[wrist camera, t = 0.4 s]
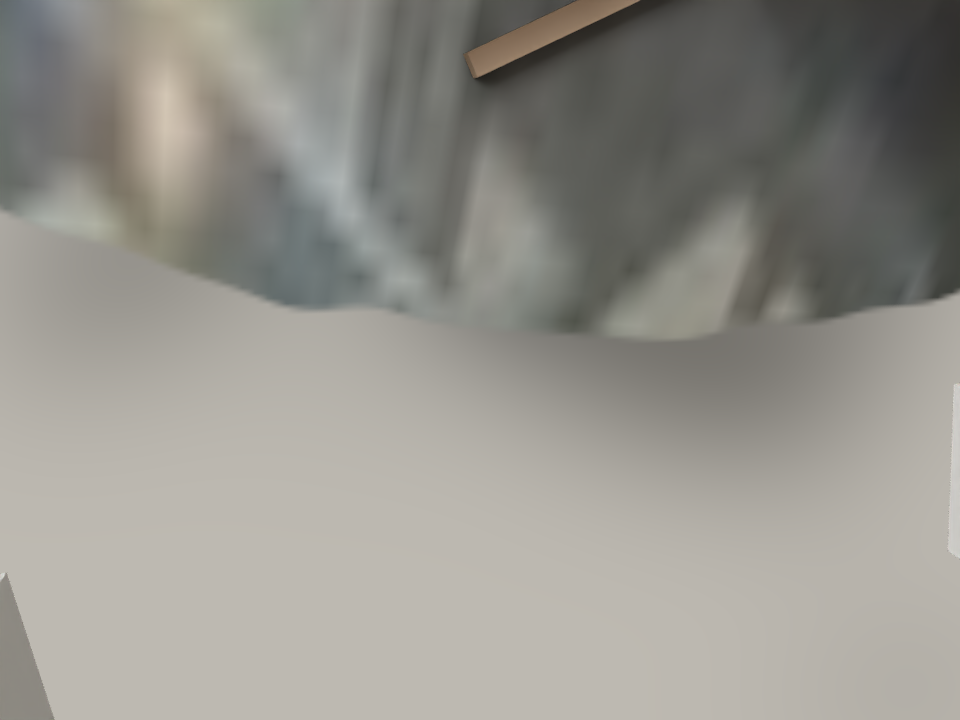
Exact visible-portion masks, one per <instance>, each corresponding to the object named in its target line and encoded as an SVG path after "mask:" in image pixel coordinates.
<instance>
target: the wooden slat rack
mask: <svg viewBox="0 0 960 720" xmlns="http://www.w3.org/2000/svg"><path fill="white" fill-rule="evenodd" d="M638 1H640V0H577V1H575V2H573V3H570V4H568V5H566V6H564V7H562V8H560V9H558V10H556V11H554V12H551V13H549V14H547V15H545V16H543V17H541V18H539V19H537V20H534V21H532V22H530V23H528V24H526V25H524V26H522V27H520V28H518V29H515V30H513V31H511V32H509V33H507V34H505V35H503V36H501V37H498V38H496V39H494V40H492V41H490V42H488V43H486V44H484V45H482V46H479V47H477V48H475V49H473V50H471V51H469V52H467V53H465V54H463V55H464V57H465V60H466V62H467V64H468V67H469V69H470V71H471V74H472V76H473V78H478V77H480V76H482V75H484V74H486V73H488V72H490V71H493V70H495V69H497V68H499V67H501V66H503V65H505V64H507V63H509V62H512V61H514V60H516V59H518V58H520V57H522V56H524V55H526V54H528V53H531V52H533V51H535V50H537V49H539V48H541V47H543V46H545V45H547V44H550V43H552V42H554V41H556V40H558V39H560V38H562V37H564V36H566V35H568V34H571V33H573V32H575V31H577V30H579V29H581V28H583V27H585V26H587V25H590V24H592V23H594V22H596V21H598V20H600V19H602V18H604V17H606V16H609V15H611V14H613V13H615V12H617V11H619V10H621V9H623V8H625V7H628V6H630V5H632V4H634V3H636V2H638Z"/></svg>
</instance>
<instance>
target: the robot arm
mask: <svg viewBox="0 0 960 720" xmlns="http://www.w3.org/2000/svg"><path fill="white" fill-rule="evenodd" d="M951 452H952V453H951V477H950V478H951V479H950V504H949V506H950V507H949V531H948V551H949V552H950V553H952V554H953V555H954V556H956V557H957V558H959V559H960V383H957V384H954V399H953V425H952V451H951ZM0 720H54V717H53V714H52V711H51V708H50V705H49V702H48V699H47V695H46V693H45V689H44V686H43V683H42V680H41V677H40V674H39V671H38V668H37V665H36V662H35V659H34V656H33V653H32V649H31V647H30V643H29V640H28V638H27V634H26V631H25V628H24V625H23V622H22V619H21V616H20V613H19V610H18V607H17V603H16V600H15V597H14V594H13V591H12V588H11V585H10V582H9V579H8V576H7V573H2V574H0Z"/></svg>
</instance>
